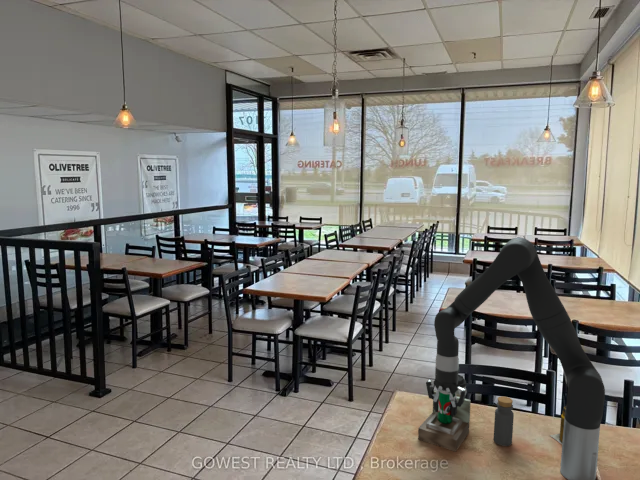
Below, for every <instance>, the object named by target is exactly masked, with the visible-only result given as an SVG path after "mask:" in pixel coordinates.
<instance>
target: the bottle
mask: <svg viewBox="0 0 640 480" xmlns="http://www.w3.org/2000/svg"><path fill="white" fill-rule="evenodd" d="M513 402H514V400H513V399H512V398H511V397H508V396H503V395H502V396H498V397H497V402H496V408H495V411H494V423H493V425H494V426H493V442H494V443H495V444H497V445H499V446H503V447H508V446H511V445H512V444H513V432H514V417H515V415H514V412H513V409H514V405H513Z"/></svg>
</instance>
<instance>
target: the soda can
mask: <svg viewBox="0 0 640 480" xmlns="http://www.w3.org/2000/svg"><path fill="white" fill-rule="evenodd" d="M453 396H454V394H453ZM449 398H450V394H449V393H447V391H446V390H444V389H442V390H441V391H439V397H438V414H437V420H438V421H439V422H440V423H442V424H450V423H452V421H453V417H451V407H452V403H451V401H450V399H449Z"/></svg>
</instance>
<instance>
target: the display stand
mask: <svg viewBox="0 0 640 480" xmlns="http://www.w3.org/2000/svg"><path fill="white" fill-rule="evenodd" d="M433 390H434V389H433ZM436 392H437V389H436V390H434V395H435V394H436ZM459 398H460V397H458V396H457V401H459ZM471 402H472V401H471V399H468V398H465V399H464V403H463V404H462V405H461V407H458V406H457V414H456V415H455V416H454V417H453V421H452V423H450V424H442V423H440V422H439V421H438V420H437V414H438V412H435V410H434V400H433V399H432V412H431V413H430V414H429V416H428V417H427V418H426V419H425V420H424V421H423V422H422V424H420V425H419V426H418V428H417V429H418V432H417V433H418V434H417V440H420V441H423V442H425V443H428V444H432V445H435V446H438V447H440V448H443V449H447V450H449V451H452V452H457V450H458V449H459V448H460V446H461V445H462V443H463V442H464V440H465V439H466V438H467V436H468V435H469V433H470V422H471Z"/></svg>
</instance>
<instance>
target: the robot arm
mask: <svg viewBox="0 0 640 480" xmlns="http://www.w3.org/2000/svg"><path fill="white" fill-rule="evenodd" d="M536 249H537V248H536V247H535V246H534V244H533V243H532V241H530V240H529V239H527V238H525V237H519V236H518V237H514V238H512V239H510V240H508V241H507V242H506V243H505V244H504V245H503V246H502V247H501V249H500V251H499V253H498V254H497V255H496V257H495V258H494V260H493V261H492V263H490V265H489V266H488V267H487V269H485V270H484V271H483V272H482V273H481V274H480V275H479V276H477V277H476V278H475V279H474V280H473V281H471V282H470V283H469V284H468V285H467V286H466V287H464V289H463V290H461V292H460V293H458V294H457V296H456V297H455V299H454V300H453V302H452V303H451V304H450V305H448V306H447V307H446V308H444V309H442V310H440V311H438V312H437V313H436V315H435V316H434V321H433V322H434V326H433V327H434V331H435V337H436V341H437V342H436V356H435V368H434V369H435V371H434V376H435V377H434V380H432V379H428V380H427V381H426V382H425V384H426V390H427V396H428V399H429V400H430V399H431V400H432V401H433V400H434V410H435V412H438V397H439V391H441V390H442V389H444V390H446V391H447V393H449V394H450V398H449V399H450V401H451V403H452V407H451V417H454V416H455V415H456V414H457V406H458V407H461V405H462V404H463V403H464V399H466V396H467V393H468V389H467V388H464V389H463V388H460V387H459V385H458V375H459V367H460V364H459V363H460V359H459V351H460V350H459V347H460V346H459V343H460V341H459V338H458V337H456V336H455V329H456V328H458V327H459V326H461V324H463V323H464V322H465V321H466V320H467V318H469V316H470V315H471V314H472V313H474V312H475V311H476V310H477V309H478V308H479V307H480V306H481V305H482V304H484V303H485V302H486V301H487V300H488V299H489V298H490V297H491V295H493V293H494V292H496V291H497V290H498V288H500V287H501V286H502V285H504V284H505V283H507V282H508V281H509V280H510V279H512V278H514V277H515V276H518V278H519V280H520V281H521V284H522V286H523V287H522V288H523V289H524V294H525V297H526V302H527V307H528V310H529V313H530V315H531V317H532V320H533V322H534V323H535V325H536V328H537V330H539V331H538V332H539V333H540V334H541V336H542V337H543V339H544V340H545V341H546V343H547V344H548V345H549V347H551V350H553V351H554V353H555V354H556V356H557V359H558V360H559V363H560V364H561V367H562V370H563V372H564V375H565V379H566V382H567V383H566V384H567V396H566V405H565V406H566V409H565V418H564V430H563V443H562V444H561V445H562V446H561V456H560V457H561V458H560V459H561V460H560V474H561V475H562V476H563V478H565V479H567V480H596V477H597V469H598V456H599V448H600V447H599V443H600V431H601V422H602V419H603V415H604V408H605V407H604V406H605V399H606V398H605V397H606V388H605V384H604V381H603V379H602V376H601V374H600V373H599V371H598V370H597V369H596V367H595V366H594V364H593V363H592V361H591V360H590V358H589V356H588V355H587V353H586V352H585V350H584V348H583V347H582V345H581V343H580V339H579V336H578V334H577V331H576V328H575V327H574V325H573V322H572V320H571V317H570V316H569V314H568V312H567V310H566V308H565V306H564V304H563V302H562V301H561V299H560V297H559V295H558V294H557V292H556V290H555V288H554V287H553V285H552V283H551V281H550V280H549V279H548V276H547V275H546V272H545V270H544V267H543V265H542V263H541V259H540V257H539V255H538V252H537V250H536ZM434 387H435V388H436V391H437V392H436V394H435V395H434ZM457 390H458V391H459V395H460V398H459V401H457V396H456V393H455V392H456V391H457ZM453 394H454V396H453Z"/></svg>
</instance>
